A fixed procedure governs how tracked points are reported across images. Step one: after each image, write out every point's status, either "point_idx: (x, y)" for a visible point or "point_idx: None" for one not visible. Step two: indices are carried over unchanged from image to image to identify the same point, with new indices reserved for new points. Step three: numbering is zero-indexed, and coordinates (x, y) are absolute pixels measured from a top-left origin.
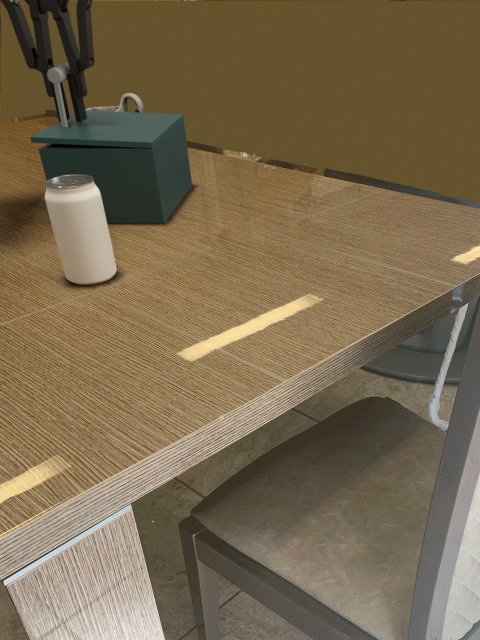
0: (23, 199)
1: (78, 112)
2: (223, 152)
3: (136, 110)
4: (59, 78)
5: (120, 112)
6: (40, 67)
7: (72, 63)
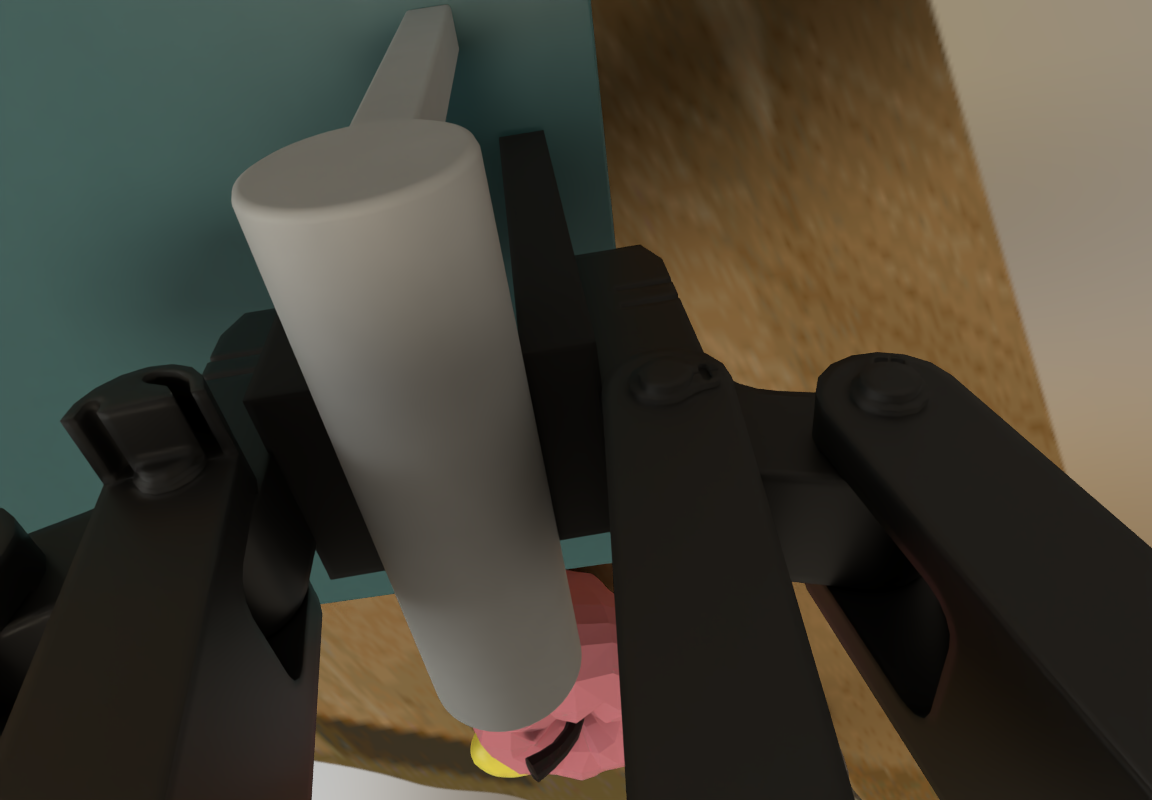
0: (860, 61)
1: None
2: None
3: (537, 772)
4: (267, 162)
5: (362, 581)
6: (718, 389)
7: (152, 528)
